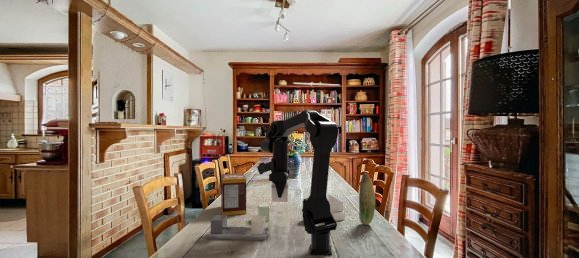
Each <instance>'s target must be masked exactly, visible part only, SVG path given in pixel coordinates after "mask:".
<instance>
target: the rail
mask: <svg viewBox="0 0 579 258" xmlns="http://www.w3.org/2000/svg"><path fill="white" fill-rule="evenodd" d="M266 222H267V221H266V216H258V215H254V216H253V218H252V220H251V221H250V226H228V215H222V214H216V215H214V217H212V218H211V219H210V231H209V232H207V233H206V240H208V239H209V240H235V241H236V240H240V241H243V240H245V241H266V240H267V237H268V235H269V232H270V231H269V227H266V225H267V224H266Z"/></svg>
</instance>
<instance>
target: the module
mask: <svg viewBox="0 0 579 258" xmlns="http://www.w3.org/2000/svg"><path fill="white" fill-rule="evenodd" d="M289 185H290V184H289V180H288V181H287V183H286V186H285V188H284V191H283V194H282V197H281V198H278V195H277V191H276V186H275V184H274V183H273V182H272V181H271V185H270V187H271V188H270V189H271V198H270V199H271V202H273V203H288V202H289V197H290V195H289V192H290V189H289V187H290V186H289Z"/></svg>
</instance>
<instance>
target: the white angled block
mask: <svg viewBox="0 0 579 258" xmlns="http://www.w3.org/2000/svg"><path fill="white" fill-rule="evenodd" d="M327 197H328V198H327V199H328V202H329V204H330V212H331V214H332V216H333V217H334V219H335V221H336V222H337V221H345V220H346V212H345V211H344V202H343V201H341V200H339V199H338V198H336V197H334V196H333V195H331V194H328V195H327Z"/></svg>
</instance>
